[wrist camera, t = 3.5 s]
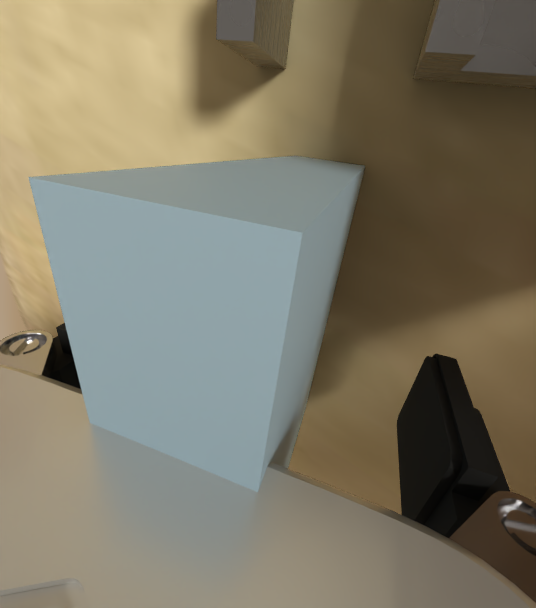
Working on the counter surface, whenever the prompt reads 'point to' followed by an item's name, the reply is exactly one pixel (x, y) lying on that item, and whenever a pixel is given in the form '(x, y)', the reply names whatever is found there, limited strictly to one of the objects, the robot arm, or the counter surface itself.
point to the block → (200, 299)
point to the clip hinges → (436, 47)
